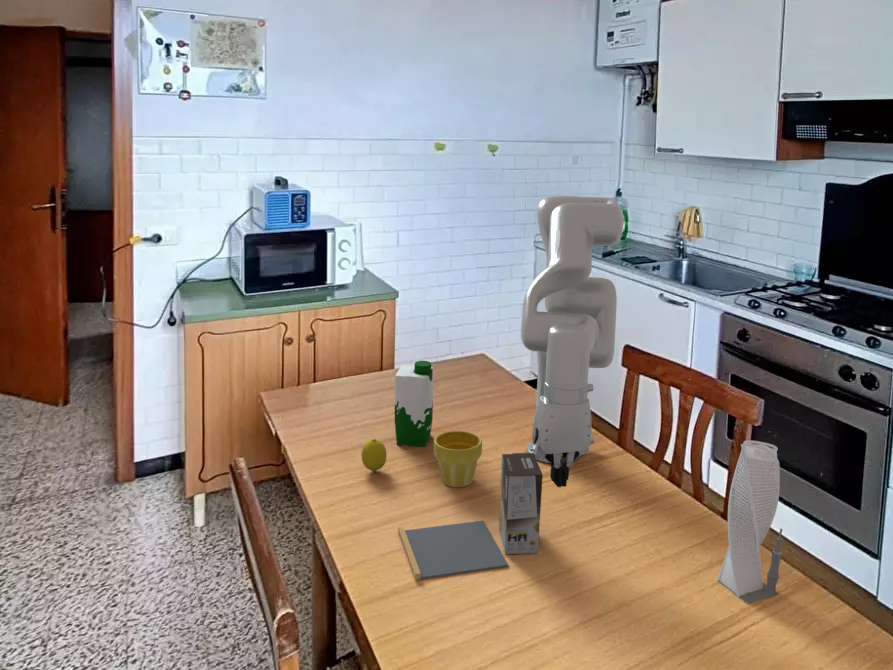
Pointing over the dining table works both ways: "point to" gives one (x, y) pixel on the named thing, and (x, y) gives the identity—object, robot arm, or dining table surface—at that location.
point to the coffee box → (520, 503)
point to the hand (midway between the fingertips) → (559, 483)
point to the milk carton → (414, 404)
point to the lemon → (374, 455)
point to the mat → (451, 549)
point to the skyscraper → (752, 523)
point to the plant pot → (457, 456)
